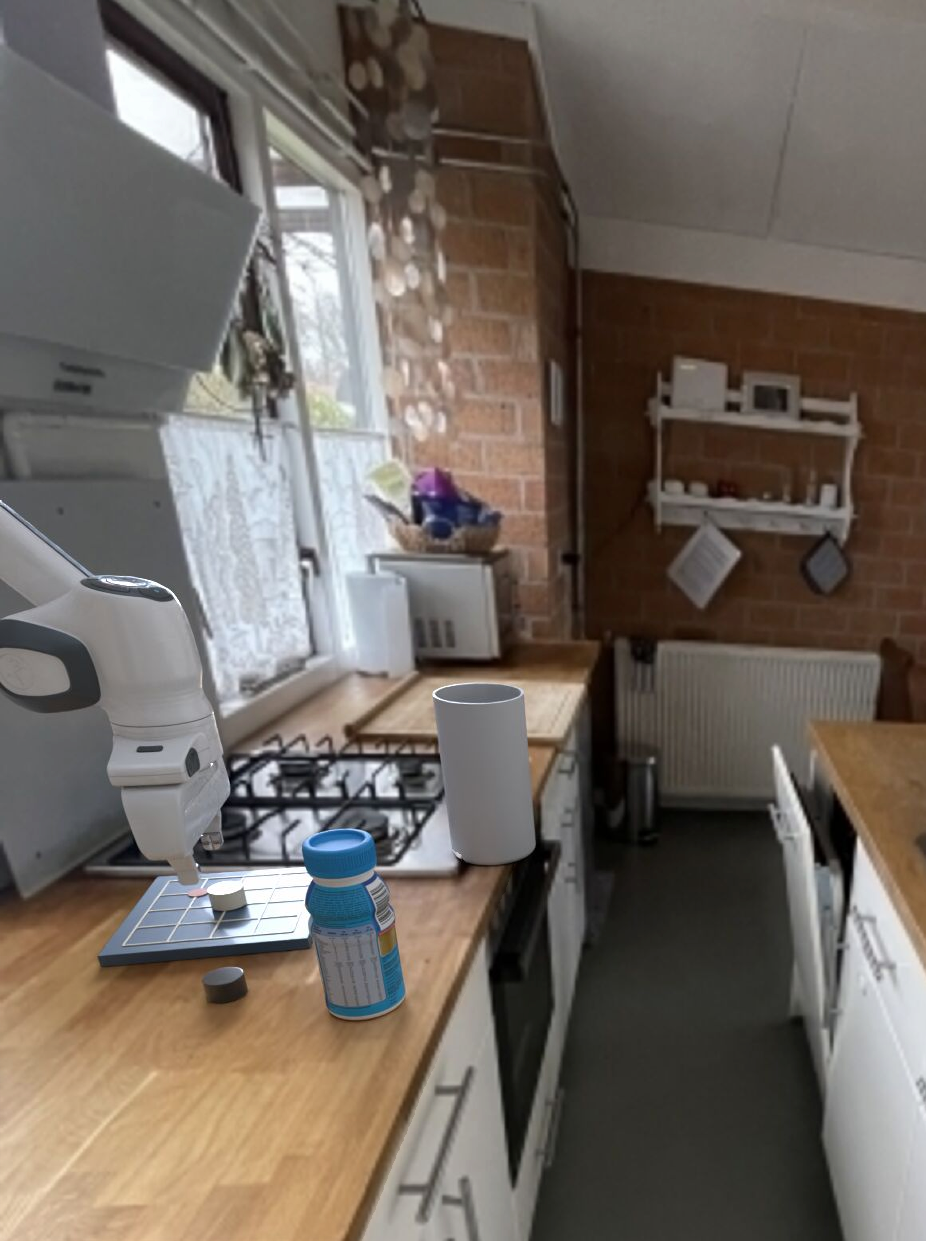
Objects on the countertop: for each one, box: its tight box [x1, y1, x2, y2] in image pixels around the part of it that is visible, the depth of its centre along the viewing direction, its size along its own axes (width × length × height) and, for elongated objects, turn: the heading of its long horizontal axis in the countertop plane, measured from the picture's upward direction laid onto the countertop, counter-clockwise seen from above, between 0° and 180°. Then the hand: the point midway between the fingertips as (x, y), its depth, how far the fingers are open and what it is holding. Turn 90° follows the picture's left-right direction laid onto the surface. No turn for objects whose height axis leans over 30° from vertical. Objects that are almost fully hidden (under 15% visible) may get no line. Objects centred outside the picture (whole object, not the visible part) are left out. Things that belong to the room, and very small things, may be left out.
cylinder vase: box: [432, 682, 537, 866], centre depth 133 cm, size 12×12×25 cm
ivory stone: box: [207, 881, 247, 911], centre depth 114 cm, size 4×4×2 cm
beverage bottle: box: [301, 828, 407, 1021], centre depth 95 cm, size 8×8×20 cm
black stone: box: [201, 966, 249, 1004], centre depth 99 cm, size 4×4×2 cm
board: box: [97, 866, 313, 968], centre depth 115 cm, size 22×22×2 cm
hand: (203, 864), depth 97 cm, fingers open, 8 cm apart
